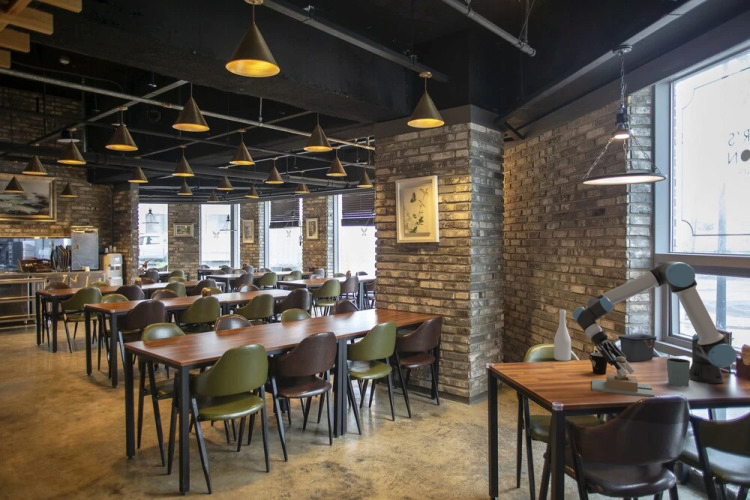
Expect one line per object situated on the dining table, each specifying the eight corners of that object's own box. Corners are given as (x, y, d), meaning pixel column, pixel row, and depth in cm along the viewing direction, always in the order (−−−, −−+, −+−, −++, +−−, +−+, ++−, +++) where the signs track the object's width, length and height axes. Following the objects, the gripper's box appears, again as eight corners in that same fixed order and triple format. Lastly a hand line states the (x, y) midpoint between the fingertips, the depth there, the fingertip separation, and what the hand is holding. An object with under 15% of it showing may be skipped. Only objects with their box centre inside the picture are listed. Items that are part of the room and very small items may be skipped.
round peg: (625, 385, 240) (625, 356, 239) (626, 387, 236) (625, 359, 236) (616, 384, 242) (616, 356, 241) (616, 387, 238) (616, 358, 237)
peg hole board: (650, 386, 242) (650, 376, 242) (654, 397, 226) (654, 386, 225) (592, 380, 253) (592, 371, 253) (591, 390, 236) (591, 379, 236)
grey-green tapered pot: (678, 387, 240) (678, 363, 240) (661, 382, 250) (661, 358, 250) (695, 386, 243) (695, 361, 243) (677, 380, 253) (677, 357, 253)
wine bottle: (571, 361, 294) (571, 311, 293) (554, 360, 297) (554, 310, 296) (570, 358, 303) (570, 309, 302) (553, 357, 306) (554, 308, 305)
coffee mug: (610, 375, 263) (610, 356, 263) (592, 374, 265) (592, 355, 265) (604, 369, 274) (604, 351, 274) (587, 369, 276) (587, 351, 276)
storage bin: (640, 355, 310) (640, 332, 310) (663, 360, 296) (663, 337, 295) (614, 358, 302) (615, 335, 302) (636, 364, 288) (636, 339, 288)
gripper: (601, 336, 257) (633, 375, 244) (580, 341, 246) (612, 381, 233) (611, 328, 253) (644, 366, 239) (590, 332, 241) (624, 372, 228)
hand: (628, 373), depth 236 cm, fingers open, 6 cm apart
